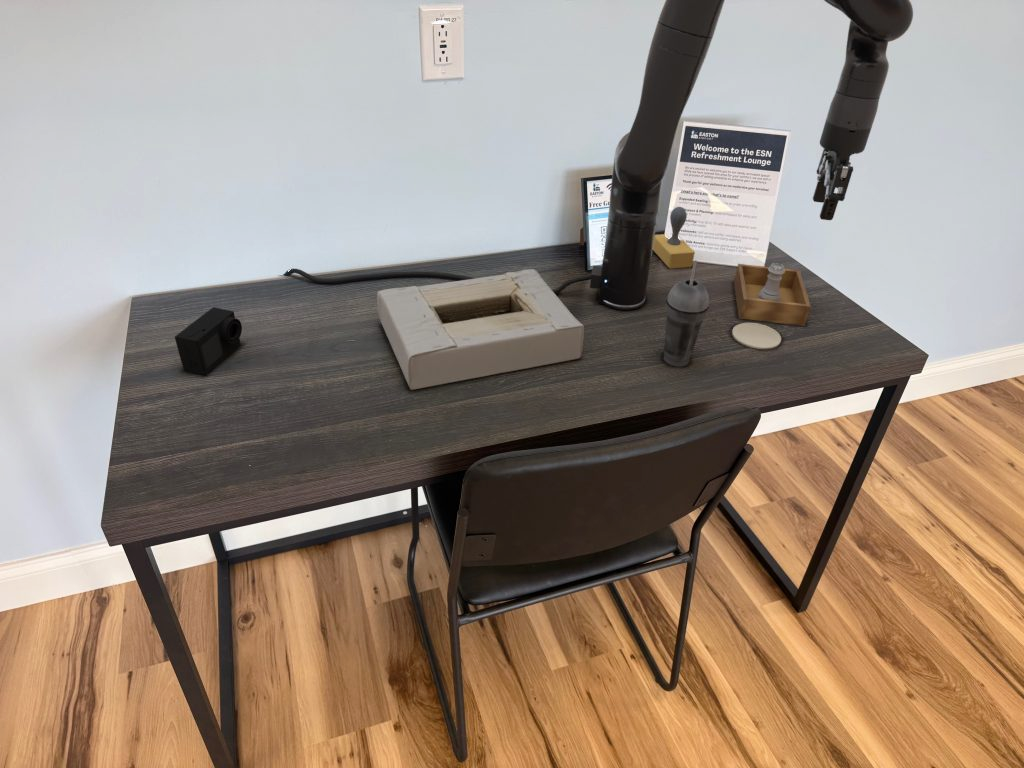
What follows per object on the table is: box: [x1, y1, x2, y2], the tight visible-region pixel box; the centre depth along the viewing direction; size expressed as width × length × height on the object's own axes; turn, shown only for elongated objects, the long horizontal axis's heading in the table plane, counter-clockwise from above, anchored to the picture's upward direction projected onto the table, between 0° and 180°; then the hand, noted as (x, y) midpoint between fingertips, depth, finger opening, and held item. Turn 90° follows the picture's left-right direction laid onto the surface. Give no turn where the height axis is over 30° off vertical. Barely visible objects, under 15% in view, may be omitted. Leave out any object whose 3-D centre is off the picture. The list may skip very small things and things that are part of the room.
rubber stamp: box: [652, 206, 696, 270], centre depth 162 cm, size 10×6×12 cm, turn 13°
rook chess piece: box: [758, 262, 785, 301], centre depth 147 cm, size 4×4×8 cm
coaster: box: [731, 322, 782, 350], centre depth 139 cm, size 9×9×1 cm
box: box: [376, 268, 585, 391], centre depth 132 cm, size 23×8×32 cm
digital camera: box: [174, 307, 243, 376], centre depth 125 cm, size 10×5×7 cm, turn 163°
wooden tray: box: [733, 263, 812, 327], centre depth 148 cm, size 13×16×4 cm
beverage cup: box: [663, 259, 710, 367], centre depth 126 cm, size 7×7×20 cm
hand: (821, 210), depth 135 cm, fingers open, 8 cm apart
